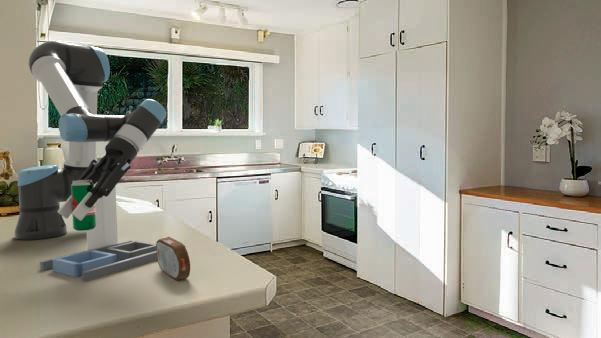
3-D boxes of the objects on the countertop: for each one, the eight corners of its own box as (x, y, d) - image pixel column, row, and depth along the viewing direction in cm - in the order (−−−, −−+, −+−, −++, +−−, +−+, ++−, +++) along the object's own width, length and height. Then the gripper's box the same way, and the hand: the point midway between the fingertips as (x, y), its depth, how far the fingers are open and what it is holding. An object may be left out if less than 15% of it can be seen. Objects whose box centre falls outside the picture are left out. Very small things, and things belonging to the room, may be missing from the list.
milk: (87, 250, 126) (82, 174, 125) (101, 245, 132) (97, 173, 131) (105, 251, 125) (101, 174, 123) (118, 246, 131) (115, 173, 129)
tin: (192, 282, 97) (190, 244, 96) (178, 285, 95) (177, 247, 94) (167, 266, 109) (166, 233, 108) (154, 269, 107) (153, 235, 106)
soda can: (86, 231, 104) (84, 181, 103) (68, 230, 105) (65, 181, 104) (100, 227, 109) (98, 179, 108) (82, 226, 110) (80, 179, 109)
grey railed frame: (40, 269, 108) (39, 257, 107) (130, 246, 130) (129, 236, 130) (85, 281, 98) (84, 268, 98) (173, 254, 120) (173, 243, 120)
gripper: (157, 155, 114) (103, 228, 101) (113, 155, 123) (59, 222, 111) (139, 134, 109) (80, 209, 96) (95, 136, 119) (36, 204, 106)
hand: (69, 216), depth 103 cm, fingers closed on soda can, 5 cm apart
